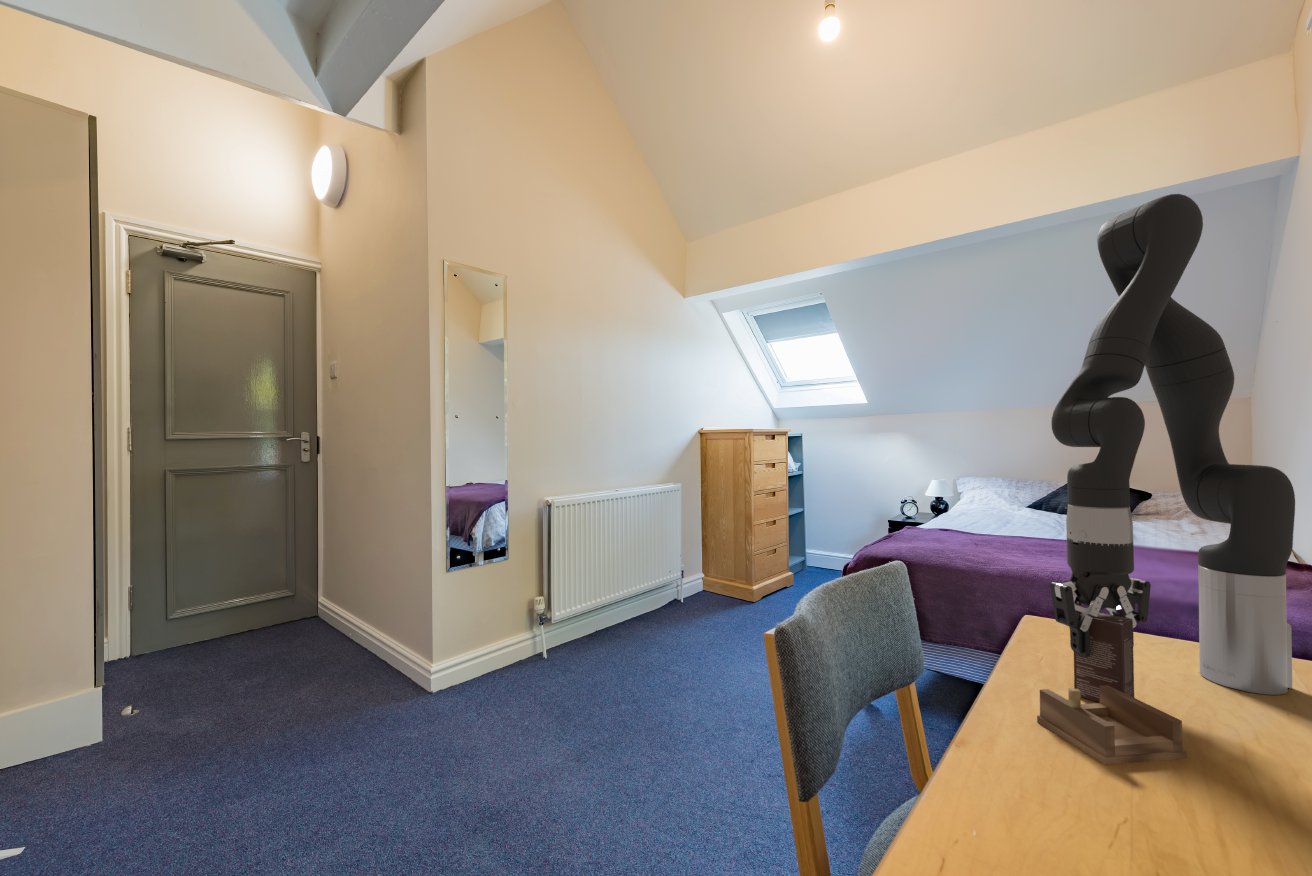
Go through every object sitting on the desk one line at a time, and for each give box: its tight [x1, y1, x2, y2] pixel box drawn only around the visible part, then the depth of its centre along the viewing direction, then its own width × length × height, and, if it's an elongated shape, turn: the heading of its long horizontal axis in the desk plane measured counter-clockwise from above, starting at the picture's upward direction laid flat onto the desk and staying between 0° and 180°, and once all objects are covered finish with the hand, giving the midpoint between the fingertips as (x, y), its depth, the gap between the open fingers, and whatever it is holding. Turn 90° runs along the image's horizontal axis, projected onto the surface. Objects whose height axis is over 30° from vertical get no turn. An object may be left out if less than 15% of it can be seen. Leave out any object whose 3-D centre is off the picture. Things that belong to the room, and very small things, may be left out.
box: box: [1073, 612, 1135, 703], centre depth 79 cm, size 6×4×12 cm
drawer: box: [1036, 685, 1187, 766], centre depth 69 cm, size 10×10×6 cm
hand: (1102, 653), depth 79 cm, fingers open, 6 cm apart
